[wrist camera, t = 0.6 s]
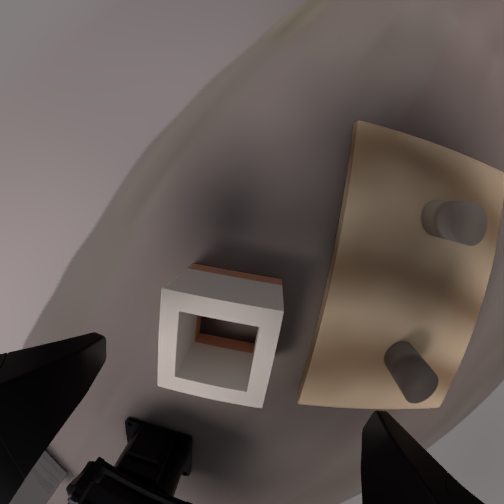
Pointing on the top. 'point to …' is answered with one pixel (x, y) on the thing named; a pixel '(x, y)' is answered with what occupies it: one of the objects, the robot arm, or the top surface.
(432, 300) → the pin board
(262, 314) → the sleeve
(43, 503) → the supplement box
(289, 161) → the top surface
